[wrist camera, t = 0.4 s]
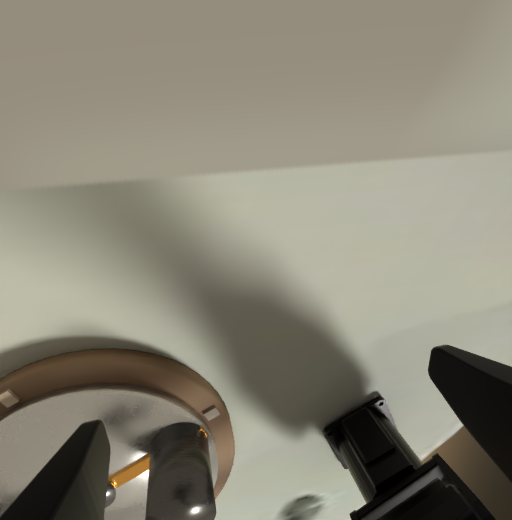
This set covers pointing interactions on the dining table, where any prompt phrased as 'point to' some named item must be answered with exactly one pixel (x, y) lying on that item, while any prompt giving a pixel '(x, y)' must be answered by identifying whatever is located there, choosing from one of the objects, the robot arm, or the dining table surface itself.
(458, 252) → the dining table surface
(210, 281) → the dining table surface
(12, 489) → the dial
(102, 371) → the dial base
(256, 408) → the dining table surface
